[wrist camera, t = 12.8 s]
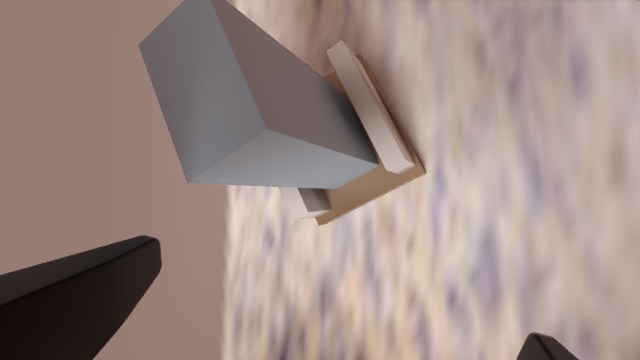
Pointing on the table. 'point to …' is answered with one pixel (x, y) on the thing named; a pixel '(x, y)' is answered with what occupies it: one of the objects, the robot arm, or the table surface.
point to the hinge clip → (380, 134)
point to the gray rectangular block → (249, 104)
